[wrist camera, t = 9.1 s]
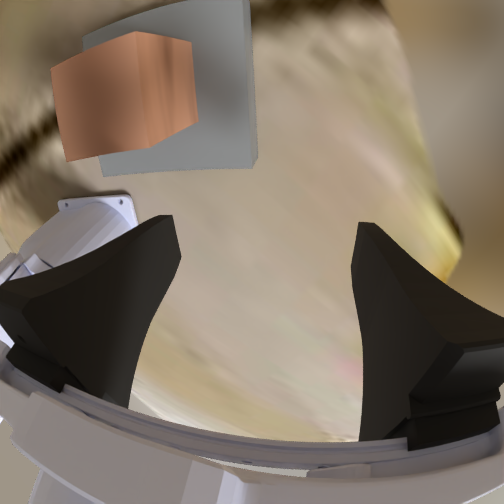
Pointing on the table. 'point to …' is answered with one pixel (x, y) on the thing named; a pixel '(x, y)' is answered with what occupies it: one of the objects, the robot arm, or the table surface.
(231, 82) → the gray plinth
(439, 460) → the robot arm
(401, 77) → the table surface
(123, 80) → the terracotta cube
